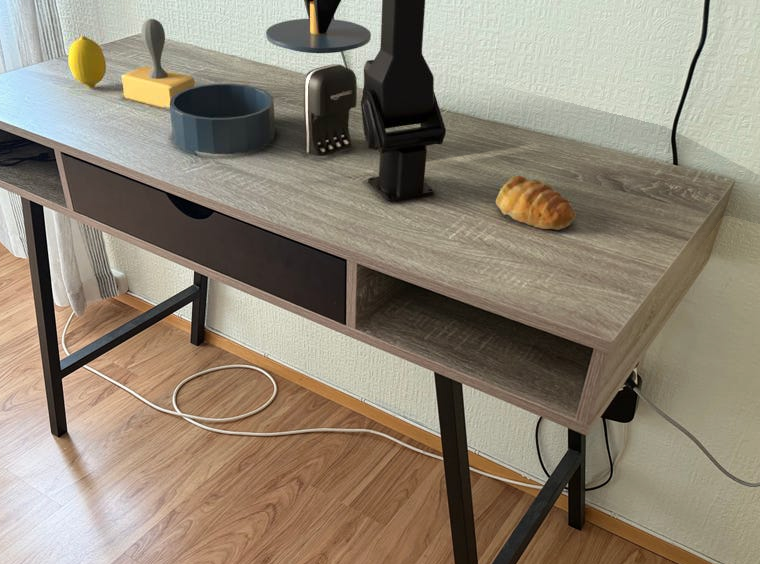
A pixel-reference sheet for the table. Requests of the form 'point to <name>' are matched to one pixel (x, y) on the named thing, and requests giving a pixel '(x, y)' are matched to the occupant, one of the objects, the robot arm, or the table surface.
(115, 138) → the table surface
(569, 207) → the pastry
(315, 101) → the battery charger
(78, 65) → the lemon
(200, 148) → the tin
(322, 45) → the tin lid
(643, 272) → the table surface
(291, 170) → the table surface
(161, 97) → the rubber stamp
